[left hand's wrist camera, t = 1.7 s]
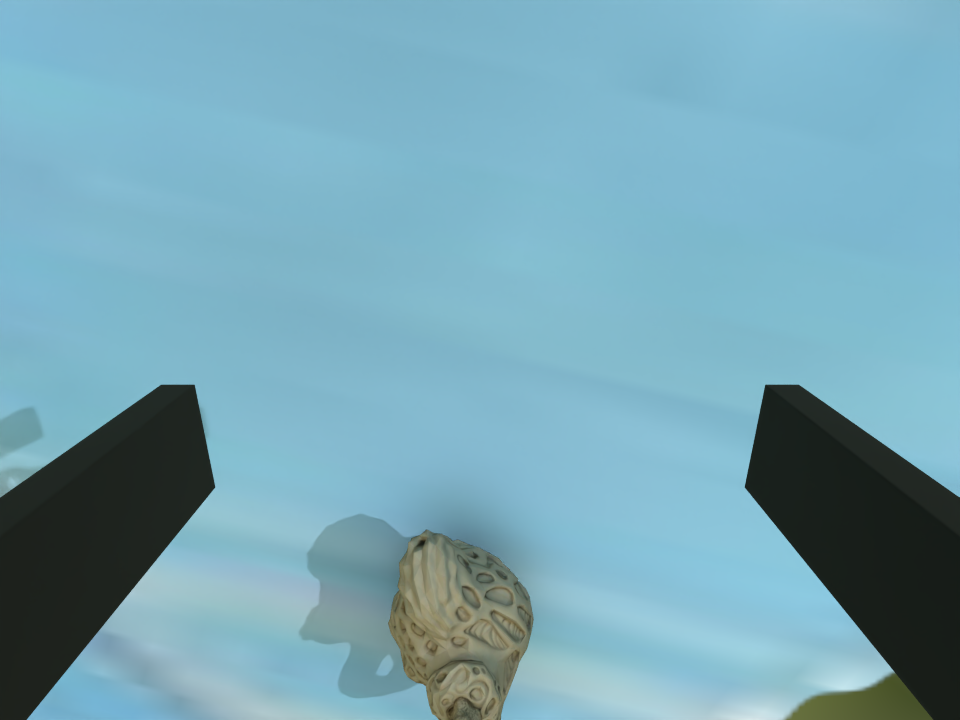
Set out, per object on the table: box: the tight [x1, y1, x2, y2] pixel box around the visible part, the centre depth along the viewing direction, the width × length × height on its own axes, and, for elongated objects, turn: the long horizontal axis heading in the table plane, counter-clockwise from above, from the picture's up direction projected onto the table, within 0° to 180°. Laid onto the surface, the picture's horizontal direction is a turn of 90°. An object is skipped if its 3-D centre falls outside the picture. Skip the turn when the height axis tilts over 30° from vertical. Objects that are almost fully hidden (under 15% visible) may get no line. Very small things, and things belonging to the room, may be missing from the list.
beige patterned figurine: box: [388, 530, 534, 720], centre depth 42 cm, size 21×12×15 cm, turn 13°
